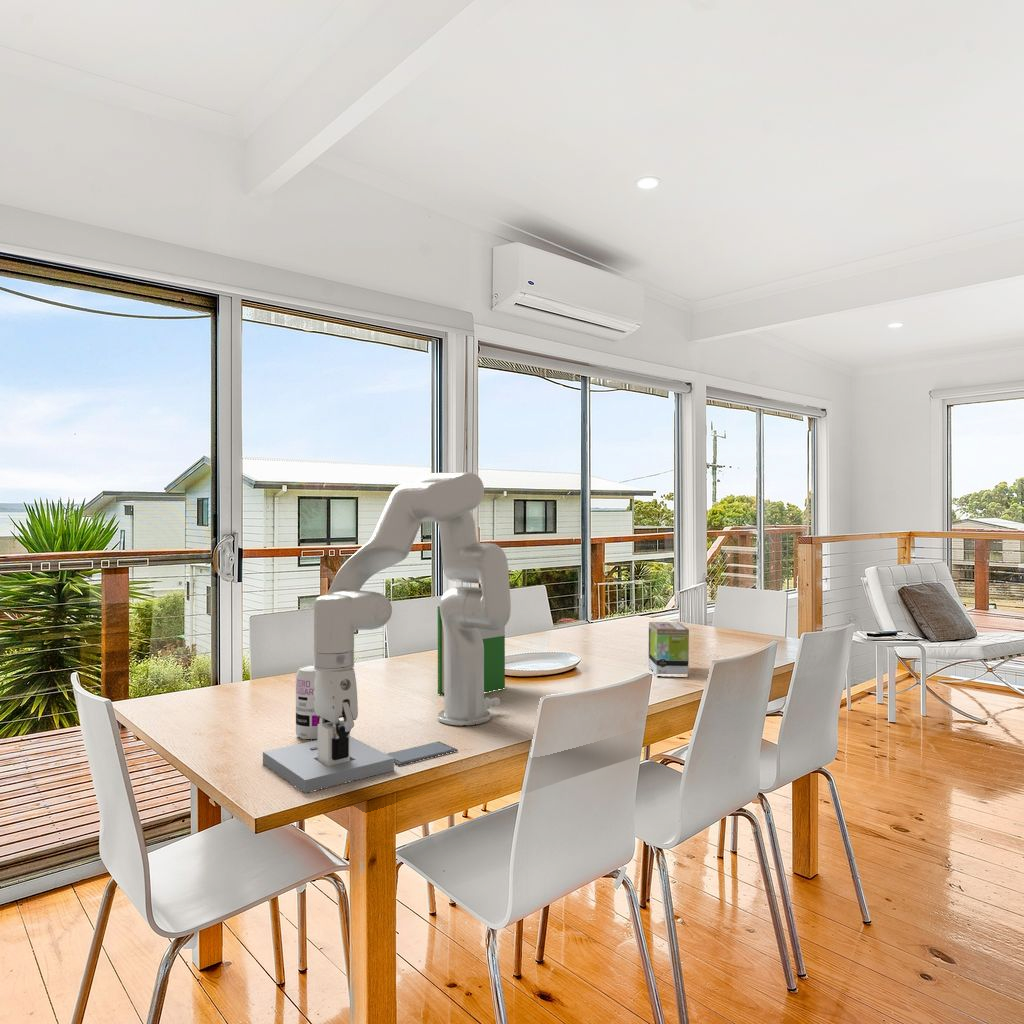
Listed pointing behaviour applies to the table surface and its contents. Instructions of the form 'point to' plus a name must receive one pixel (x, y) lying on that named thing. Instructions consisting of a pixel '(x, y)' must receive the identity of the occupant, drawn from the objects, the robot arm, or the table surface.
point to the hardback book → (492, 657)
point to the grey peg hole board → (313, 775)
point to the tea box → (668, 648)
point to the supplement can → (306, 704)
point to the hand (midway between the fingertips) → (334, 754)
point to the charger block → (328, 744)
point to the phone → (420, 753)
